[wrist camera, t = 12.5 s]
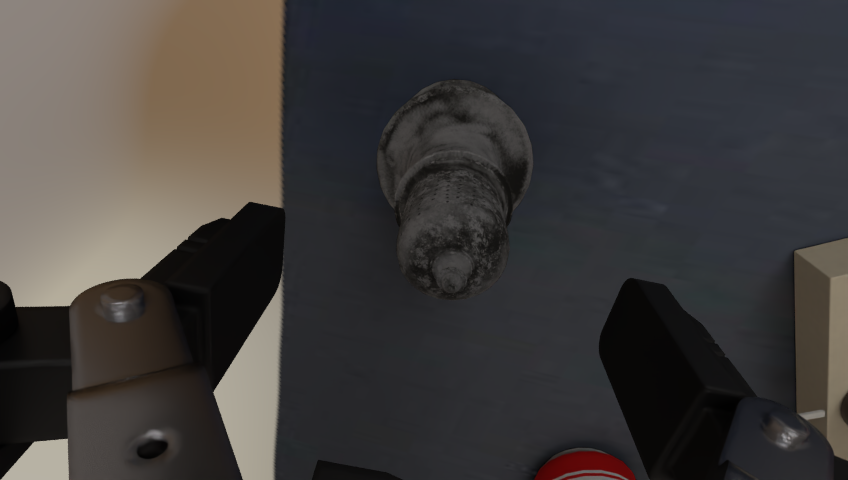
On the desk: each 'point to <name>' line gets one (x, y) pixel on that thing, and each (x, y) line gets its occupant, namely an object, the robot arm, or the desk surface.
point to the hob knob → (844, 409)
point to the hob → (822, 339)
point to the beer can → (584, 466)
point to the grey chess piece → (454, 185)
